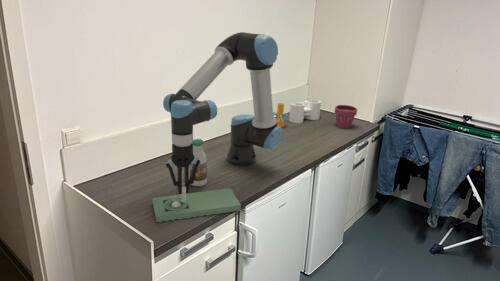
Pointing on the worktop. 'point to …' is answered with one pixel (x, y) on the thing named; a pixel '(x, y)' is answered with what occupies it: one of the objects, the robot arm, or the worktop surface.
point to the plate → (196, 205)
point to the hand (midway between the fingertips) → (183, 200)
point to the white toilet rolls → (304, 111)
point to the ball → (176, 204)
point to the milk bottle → (202, 167)
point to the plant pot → (345, 115)
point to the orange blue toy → (280, 115)
